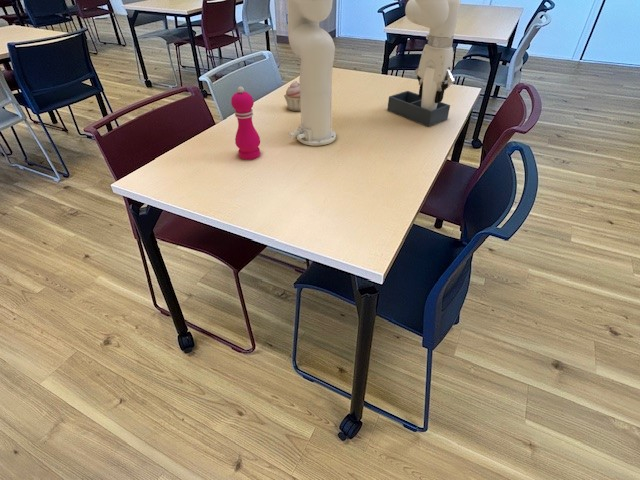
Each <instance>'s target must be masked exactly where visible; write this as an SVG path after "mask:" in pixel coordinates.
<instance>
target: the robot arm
mask: <svg viewBox="0 0 640 480" xmlns="http://www.w3.org/2000/svg"><path fill="white" fill-rule="evenodd" d="M333 1H334V0H287V4H286V5H287V33H288V34H287V37H288V43H289V44H288V45H289V47H290V50H291V52H293V54H295V55H296V56H297V57H298V58H299V59H300V68H299V84H300V104H301V111H300V124H299V125H298V126H297V127H298V128H297V129H296V130H293V131H290V132H288V138H289V139H294V138H296V139H297V140H298V142H299V143H301V144H303V145H306V146H313V147H314V146H315V147H317V146H318V147H319V146H320V147H321V146H325V145H329V144H332V143H333V142H334V141H336V138H337V133H336V132H335V130H334V129H332V111H333V110H332V107H333V106H332V102H333V101H332V100H333V99H332V98H333V97H332V96H333V95H332V94H333V69H334V62H335V56H336V47H335V42H334V39H333V37H332V36H331V34H329V32H328V31H326V30H325V29H324V28H322V27H320V22H324V21H325V20H327V19H328V17H329V16H330V15H331V13H332V9H333V3H334V2H333ZM460 7H461V0H408V1H407V3H406V4H405V9H404V14H405V17H406V19H408V21H410V22H411V23H412V24H415V25H418V26H422V27H425V28H427V29H429V30H428V34H426V36H425V39H426V40H427V43H426V44H424V47H423V50H422V53H421V56H420V60H419V64H418V67H417V68H416V69H415V70H414V74H415V75H416V79H417V81H418V86H419V89H418V94H419V97H422V88H423V79H424V75H425V70H426V67H429V68H434V69H435V71H434V77H433V81H434V82H436V83H438V91H437V92H436V97H435V103H439V102H442V101H443V99H444V95H445V91H446V90H447V89H448V88H449V87H450V86H451V85H453V84H454V83H455V81H456V80H455V78H454V76H453V74H452V69H453V59H454V47H453V41H454V37H455V32H456V27H457V22H458V17H459V11H460ZM442 82H443V84H442Z"/></svg>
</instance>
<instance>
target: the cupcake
mask: <svg viewBox="0 0 640 480" xmlns="http://www.w3.org/2000/svg"><path fill="white" fill-rule="evenodd" d="M285 92H286V93H285V94H284V95H283V97H284V100H285V102H286V105H287V108H288V110H289V111H292V112H301V104H300V82H298V80H295V81H293V82H291V83H290V85H289V86H288V87H287V88H286V91H285Z"/></svg>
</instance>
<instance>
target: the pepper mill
mask: <svg viewBox="0 0 640 480" xmlns="http://www.w3.org/2000/svg"><path fill="white" fill-rule="evenodd" d="M254 103H255V102H254V98H253V96H252V94H250V93H249V92H247V91H245V88H244V87H243V86H238V87H237V92H235V93H234V94H233V95H232V97H231V100H230V104H231V106H232V108H233V109H234V116H235V118H236V120H237V131H236V134H235V138H234V141H235V142H234V143H235V146H236V147H237V149H238V157H239V158H240V159H242V160H246V161H247V160H248V161H249V160H255V159H258V158H259V157H260V156H261V149H260V147H259V146H260V145H261V138H260V137H261V136H260V135H259V133H258V131H257V129H256V127H255V126H254V124H253V116H254V110H253V109H252V108H253V107H254Z"/></svg>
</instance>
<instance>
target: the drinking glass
mask: <svg viewBox="0 0 640 480" xmlns="http://www.w3.org/2000/svg"><path fill="white" fill-rule="evenodd" d="M434 71H435V69H434V68H429V67H426V70H425V75H424V79H423V88H422V101H421V107H422V108H424V109H427V110H430V111H432V110H435V109H436V108H437V104H438V103H435V97H436V92H437V91H438V83H436V82H434V81H433V77H434ZM442 84H443V82H442Z"/></svg>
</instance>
